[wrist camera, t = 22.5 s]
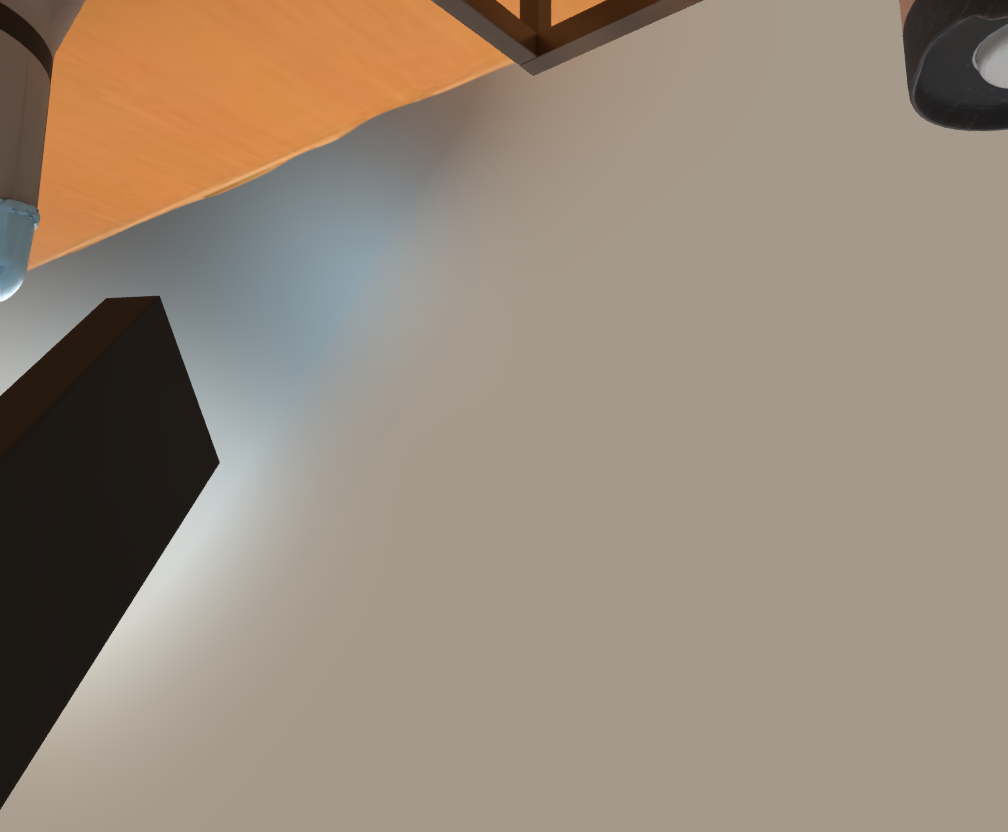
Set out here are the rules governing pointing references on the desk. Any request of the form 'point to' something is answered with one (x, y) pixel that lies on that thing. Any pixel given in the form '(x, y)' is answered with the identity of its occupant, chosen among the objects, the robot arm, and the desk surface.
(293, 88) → the desk surface
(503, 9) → the rack
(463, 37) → the desk surface
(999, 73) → the travel mug
